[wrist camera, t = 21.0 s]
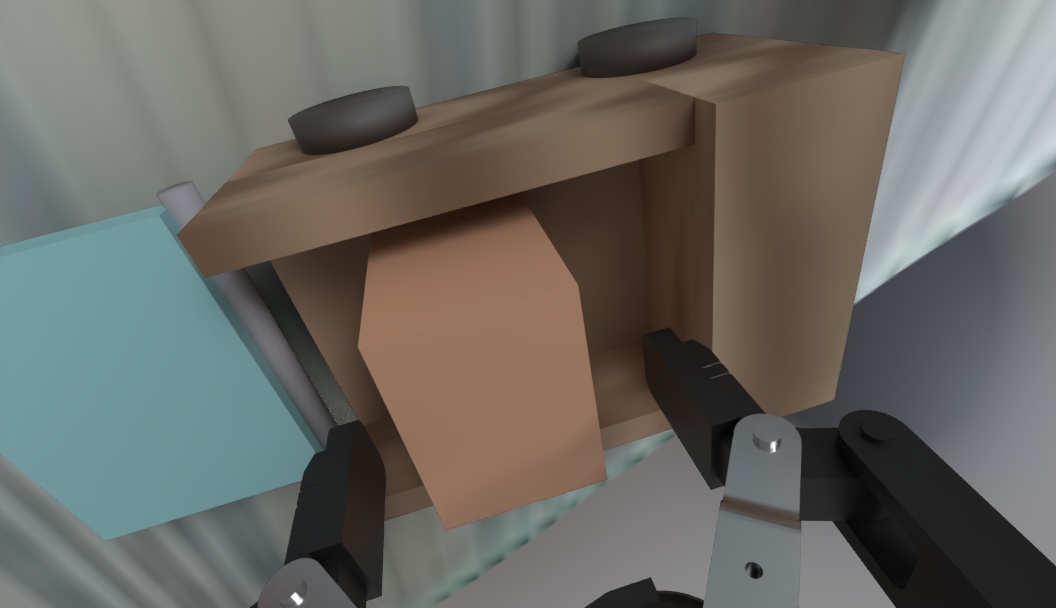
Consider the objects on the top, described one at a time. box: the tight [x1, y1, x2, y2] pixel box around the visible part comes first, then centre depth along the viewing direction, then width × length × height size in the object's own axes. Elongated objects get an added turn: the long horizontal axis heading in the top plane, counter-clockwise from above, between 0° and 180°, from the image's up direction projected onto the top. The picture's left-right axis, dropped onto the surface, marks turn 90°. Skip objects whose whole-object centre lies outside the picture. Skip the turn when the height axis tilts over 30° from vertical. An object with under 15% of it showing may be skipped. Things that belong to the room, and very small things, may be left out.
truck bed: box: [177, 17, 906, 521], centre depth 18 cm, size 18×14×9 cm
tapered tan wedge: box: [358, 192, 607, 530], centre depth 16 cm, size 5×7×7 cm
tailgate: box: [0, 182, 338, 541], centre depth 18 cm, size 2×12×10 cm
